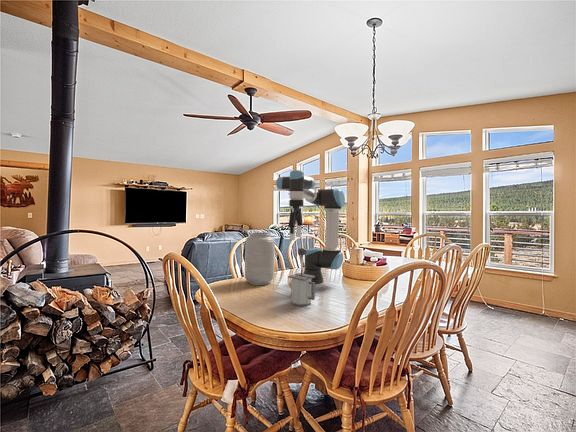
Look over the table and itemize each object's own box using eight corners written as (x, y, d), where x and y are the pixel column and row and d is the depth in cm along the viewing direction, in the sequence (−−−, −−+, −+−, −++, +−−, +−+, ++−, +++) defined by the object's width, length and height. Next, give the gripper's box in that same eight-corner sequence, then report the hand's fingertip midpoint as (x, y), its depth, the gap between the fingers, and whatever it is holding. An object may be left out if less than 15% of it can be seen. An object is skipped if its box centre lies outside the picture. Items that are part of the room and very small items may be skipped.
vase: (279, 281, 209) (280, 233, 208) (262, 288, 192) (263, 235, 191) (256, 277, 219) (257, 231, 218) (238, 283, 202) (239, 233, 201)
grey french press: (298, 298, 171) (299, 272, 170) (319, 304, 162) (319, 276, 162) (287, 303, 162) (287, 276, 162) (308, 308, 154) (308, 280, 154)
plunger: (300, 277, 168) (300, 247, 167) (310, 279, 164) (311, 248, 163) (292, 279, 162) (293, 248, 162) (303, 281, 158) (303, 250, 158)
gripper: (295, 199, 176) (295, 235, 177) (282, 198, 152) (282, 240, 153) (308, 199, 174) (307, 236, 174) (297, 198, 150) (296, 241, 151)
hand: (295, 238), depth 164 cm, fingers open, 13 cm apart
